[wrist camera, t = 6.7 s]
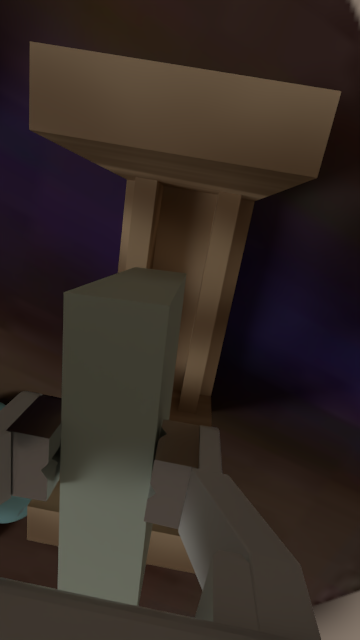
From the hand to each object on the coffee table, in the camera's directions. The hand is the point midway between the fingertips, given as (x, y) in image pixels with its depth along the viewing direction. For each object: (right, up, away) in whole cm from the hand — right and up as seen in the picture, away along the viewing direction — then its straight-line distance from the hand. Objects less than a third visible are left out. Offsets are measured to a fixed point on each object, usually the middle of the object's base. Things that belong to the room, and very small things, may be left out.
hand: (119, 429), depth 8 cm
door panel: (0, +1, +6) cm, 6 cm away
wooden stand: (+1, +5, +14) cm, 14 cm away
